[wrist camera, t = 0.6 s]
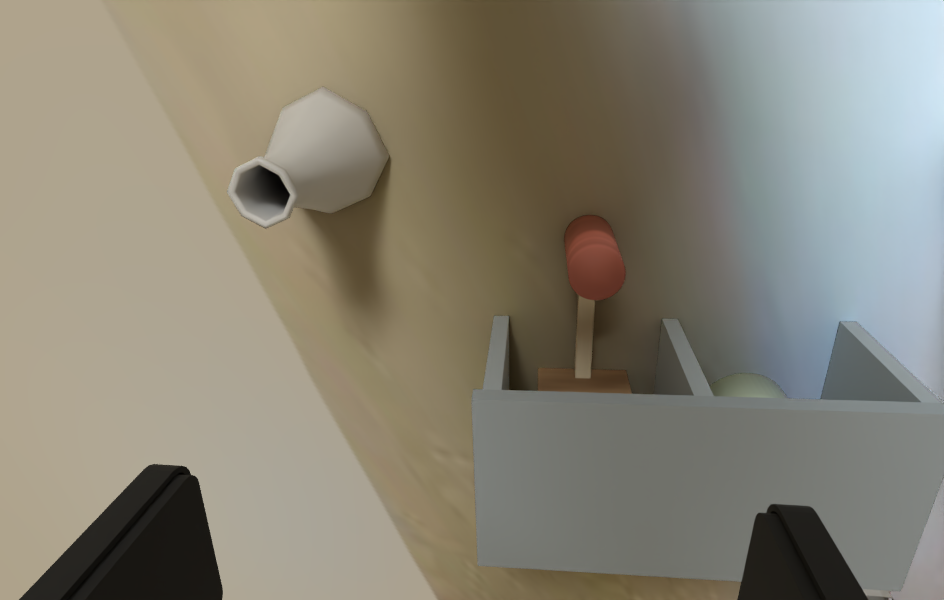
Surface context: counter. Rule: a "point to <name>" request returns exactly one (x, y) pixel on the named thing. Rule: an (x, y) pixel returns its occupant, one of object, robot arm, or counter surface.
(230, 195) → the flask
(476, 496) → the lane shelf
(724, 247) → the counter surface
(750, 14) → the counter surface
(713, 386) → the jar
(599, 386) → the block
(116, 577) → the robot arm
